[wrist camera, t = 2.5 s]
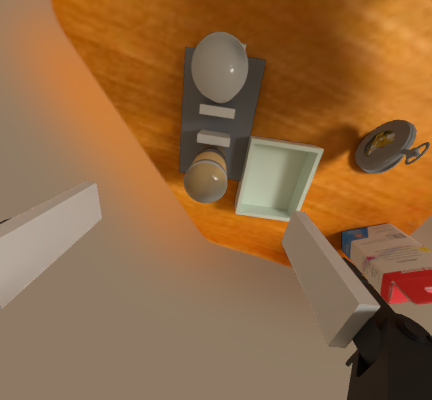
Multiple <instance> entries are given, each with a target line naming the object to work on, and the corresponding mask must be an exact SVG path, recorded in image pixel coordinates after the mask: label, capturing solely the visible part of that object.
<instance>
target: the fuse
mask: <svg viewBox="0 0 432 400" xmlns="http://www.w3.org/2000/svg"><path fill="white" fill-rule="evenodd" d="M191 70H192V76H193V80H194V82H195V85H196V86H197V88H198V90H199V91H200V92H201V93H202V94H203V95H204V96H206V97H207V98H209V99H211V100H212V101H214V102H216V103H219V104H224V103H227V102H229V101H230V100H231V99H232V98H233V97H234V96H235V95H236V94H237V93H238V92H239V91H240V90H241V88H242V87H243V85H244V83H245V80H246V78H247V74H248V58H247V54H246V51H245V49H244V47H243V45H242V44H241V42H240V41H239V40H238V39H237V38H236V37H235V36H233V35H232V34H229V33H226V32H214V33H211V34H209V35H207V36H206V37H204V38H203V39H202V40H201V41H200V42H199V44H198V45H197V47H196V49H195V51H194V54H193V57H192V63H191Z"/></svg>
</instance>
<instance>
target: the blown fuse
mask: <svg viewBox="0 0 432 400" xmlns="http://www.w3.org/2000/svg"><path fill="white" fill-rule="evenodd" d="M226 171H227V165H226V152H225V149H224V147H223V146H218V145H211V144H204V145H203V146H202V148H201V149H200V151H199V152H198V154H197V155H196V157H195V159H194V160H193V163H192V165H191V166H190V167H189V169H188V170H187V172H186V174H185V177H184V187H185V190H186V192H187V193H188V195H189V196H190V197H191V198H193V199H194V200H196V201H198V202H201V203H212V202H215V201H217V200H219V199H220V198H221V197H222V196H223V195H224V193H225V192H226V189H227V174H226Z"/></svg>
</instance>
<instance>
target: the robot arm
mask: <svg viewBox="0 0 432 400" xmlns="http://www.w3.org/2000/svg"><path fill="white" fill-rule="evenodd" d="M101 219H102V216H101V209H100V203H99V197H98V191H97V184H96V183H95V182H88V181H83V182H81V183H79V184H77V185H75V186H74V187H72V188H70V189H68V190H66V191H64V192H62V193H60V194H58V195H56V196H54V197H52V198H50V199H48V200H46V201H45V202H43V203H41V204H39V205H37V206H35V207H33V208H31V209H29V210H27V211H25V212H23V213H21V214H19V215H17V216H15V217H13V218H10V219H7V220H4V221H2V222H0V308H3V307H4V306H5V305H6V304H8V303H9V302H10V301H11V300H12V299H13V298H14V297H15V296H17V295H18V294H19V293H20V292H21V291H22V290H23V289H24V288H25V287H26V286H27V285H29V284H30V283H31V282H32V281H33V280H34V279H35V278H36V277H37V276H39V275H40V274H41V273H42V272H43V271H44V270H45V269H46V268H48V267H49V266H50V265H51V264H52V263H53V262H54V261H55V260H56V259H58V258H59V257H60V256H61V255H62V254H63V253H64V252H65V251H66V250H68V249H69V248H70V247H71V246H72V245H73V244H74V243H75V242H76V241H77V240H79V239H80V238H81V237H82V236H83V235H84V234H85V233H86V232H87V231H89V230H90V229H91V228H92V227H93V226H94V225H95V224H96V223H97V222H99V221H100V220H101ZM281 243H282V245H283V247H284V249H285V252H286V254H287V256H288V258H289V261H290V263H291V265H292V267H293V270H294V271H295V274H296V276H297V279H298V281H299V283H300V285H301V288H302V290H303V292H304V294H305V296H306V299H307V301H308V303H309V306H310V308H311V310H312V312H313V314H314V317H315V319H316V321H317V323H318V326H319V328H320V330H321V332H322V334H323V337H324V339H325V342H326V344H327V346H331V347H340V348H346V347H347V346H348V344H349V343H350V342H351V341H352V340H353V342H354V343H355V345H356V347H357V351H356V352H355V353H354V354H353V355H352V356H351V357H350V358H349V359H348V360H347V362H346V365H347V366H350V364H351V363H353V364H352V371H351V377H350V383H349V390H348V396H347V400H432V336H431V335H430V334H429V333H428V332H427V331H426V330H425V329H424V328H423V327H422V326H420V325H419V324H418V323H416V322H415V321H413V320H412V319H410V318H408V317H406V316H404V315H402V314H397V313H395V312H394V311H393V310H392V309H391V307H390V306H389V305H388V304H387V303H386V302H385V300H384V299H383V298H382V297H381V296H380V294H379V293H378V292H377V291H376V290H375V289H374V287H373V286H372V285H371V284H369V282H368V280H367V279H366V278H365V277H364V276H362V273H361V272H360V271H359V270H358V269H357V267H356V266H355V265H354V264H352V263H351V262H350V261H348V260H347V259H346V258H343V257H341V256H340V255H339V254H338V253H337V251H336V250H335V249H334V248H333V246H332V245H331V244H330V243H329V241H328V240H327V239H326V238H325V237H324V235H323V234H322V233H321V232H320V230H319V229H318V228H317V227H316V225H315V224H314V223H313V222H312V220H311V219H310V218H309V217H308V215H307V214H306V213H305V212H303V211H295V210H293V213H292V216H291V218H290V221H289V223H288V226H287V229H286V231H285V234H284V237H283V239H282V242H281Z"/></svg>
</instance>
